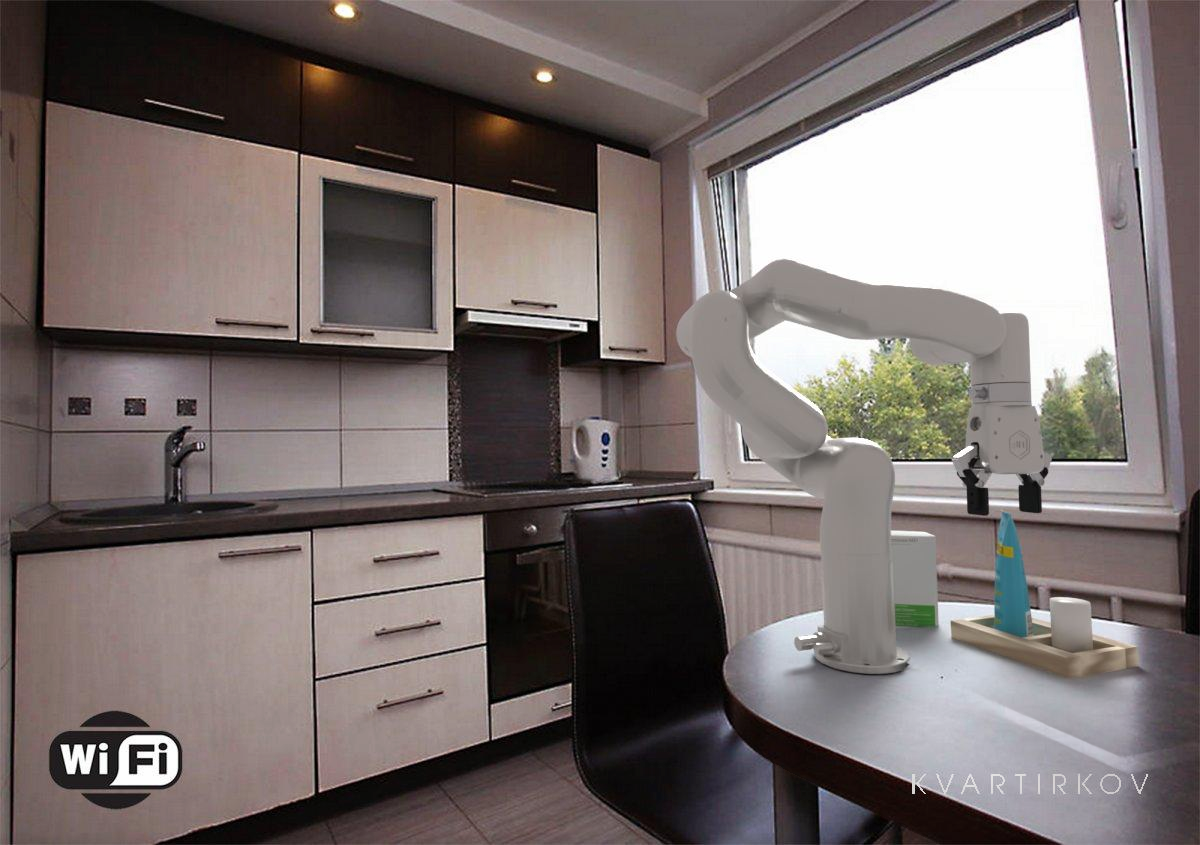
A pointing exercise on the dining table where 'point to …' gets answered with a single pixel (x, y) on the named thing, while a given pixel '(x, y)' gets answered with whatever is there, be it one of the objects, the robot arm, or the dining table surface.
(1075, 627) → the white rounded cylinder
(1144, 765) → the dining table surface
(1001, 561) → the tube
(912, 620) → the skincare box
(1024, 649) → the birch holder
